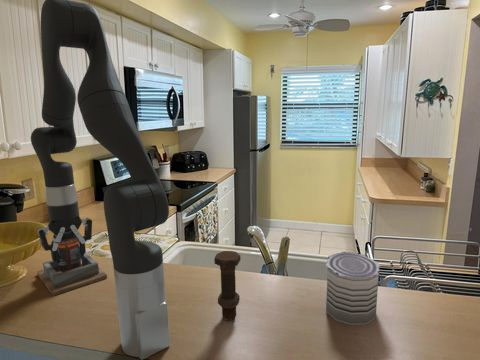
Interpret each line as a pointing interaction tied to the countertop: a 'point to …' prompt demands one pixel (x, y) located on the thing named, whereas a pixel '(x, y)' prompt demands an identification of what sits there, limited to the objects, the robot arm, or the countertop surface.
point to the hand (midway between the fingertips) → (69, 258)
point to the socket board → (70, 275)
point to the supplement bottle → (69, 252)
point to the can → (352, 288)
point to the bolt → (228, 283)
